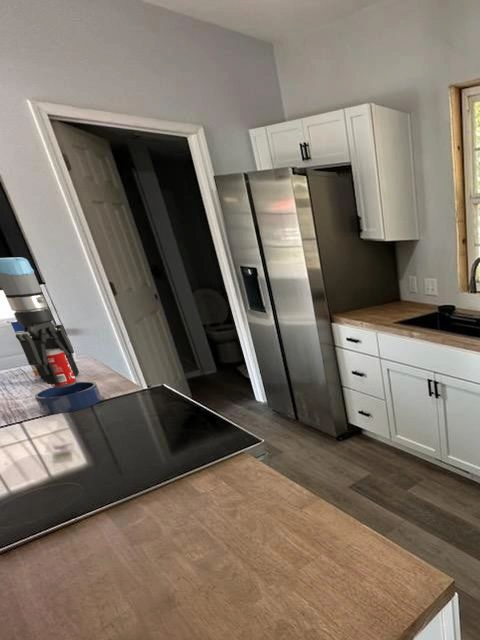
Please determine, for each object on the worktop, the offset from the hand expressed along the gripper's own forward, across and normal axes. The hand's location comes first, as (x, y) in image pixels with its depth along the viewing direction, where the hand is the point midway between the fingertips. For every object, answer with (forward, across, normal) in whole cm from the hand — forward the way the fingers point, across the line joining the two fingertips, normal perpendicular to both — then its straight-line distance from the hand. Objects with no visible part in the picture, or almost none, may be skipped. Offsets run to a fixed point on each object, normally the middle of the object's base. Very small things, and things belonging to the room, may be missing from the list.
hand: (62, 379), depth 135 cm
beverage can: (+2, 0, 0) cm, 2 cm away
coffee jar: (+9, +31, +27) cm, 42 cm away
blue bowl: (+9, 0, 0) cm, 9 cm away
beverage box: (+9, +41, +38) cm, 57 cm away
